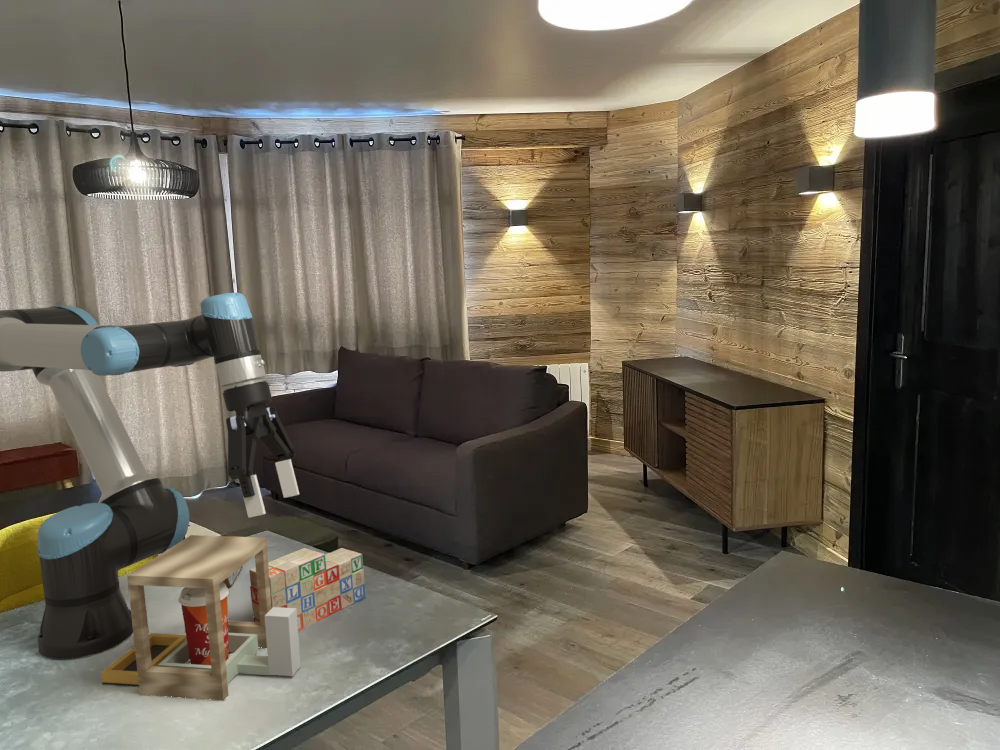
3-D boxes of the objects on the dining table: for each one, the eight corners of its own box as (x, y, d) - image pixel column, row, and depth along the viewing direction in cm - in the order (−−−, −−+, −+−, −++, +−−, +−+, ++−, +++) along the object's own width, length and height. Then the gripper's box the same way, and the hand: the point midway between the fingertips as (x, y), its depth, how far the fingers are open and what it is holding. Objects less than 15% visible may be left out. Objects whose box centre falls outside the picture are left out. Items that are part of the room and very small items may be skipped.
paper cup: (205, 686, 117) (197, 602, 115) (175, 673, 121) (167, 592, 119) (245, 663, 124) (239, 583, 122) (216, 651, 128) (209, 574, 126)
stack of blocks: (345, 590, 151) (341, 532, 149) (366, 598, 147) (362, 539, 145) (253, 633, 134) (248, 568, 132) (274, 643, 130) (269, 576, 129)
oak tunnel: (139, 694, 115) (127, 575, 112) (200, 640, 132) (190, 535, 129) (223, 700, 113) (212, 579, 110) (274, 644, 129) (266, 537, 127)
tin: (232, 566, 165) (229, 529, 164) (247, 565, 166) (244, 528, 164) (214, 595, 150) (211, 555, 149) (230, 594, 151) (227, 554, 149)
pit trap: (102, 684, 118) (100, 672, 118) (152, 643, 131) (151, 633, 131) (142, 687, 117) (140, 675, 117) (188, 645, 130) (187, 635, 130)
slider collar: (159, 682, 118) (153, 622, 116) (198, 647, 129) (193, 591, 127) (281, 690, 114) (276, 629, 113) (310, 653, 125) (306, 597, 124)
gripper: (228, 385, 113) (262, 520, 114) (294, 374, 138) (322, 484, 138) (183, 396, 114) (218, 529, 115) (257, 383, 139) (285, 493, 140)
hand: (275, 505), depth 127 cm, fingers open, 13 cm apart
